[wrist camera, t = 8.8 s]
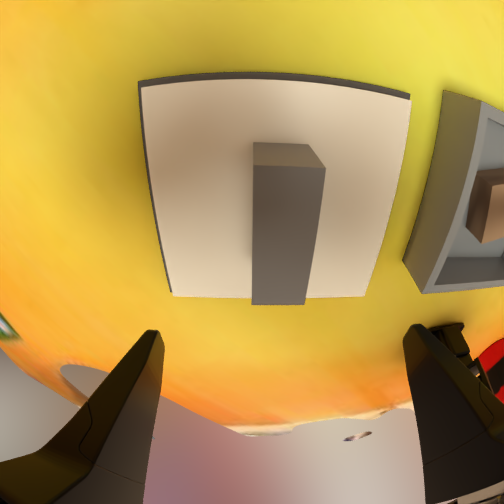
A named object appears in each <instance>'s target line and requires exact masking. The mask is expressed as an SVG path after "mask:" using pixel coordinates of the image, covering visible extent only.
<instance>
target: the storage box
mask: <svg viewBox="0 0 504 504" xmlns="http://www.w3.org/2000/svg"><path fill="white" fill-rule="evenodd" d="M499 168H504V112H502V111H500V110H498V109H496V108H495V107H493V106H491V105H489V104H487V103H485V102H483V101H480V100H477V99H474V98H470V97H467V96H463V95H460V94H456V93H452V92H449V91H444V90H443V98H442V106H441V113H440V120H439V126H438V132H437V138H436V143H435V148H434V153H433V158H432V162H431V167H430V171H429V175H428V179H427V183H426V187H425V191H424V195H423V198H422V202H421V205H420V209H419V212H418V216H417V219H416V222H415V225H414V228H413V231H412V234H411V237H410V240H409V243H408V246H407V249H406V252H405V254H404V257H403V260H402V261H403V263H404V264H405V266H406V268H407V269H408V271H409V273H410V274H411V276H412V278H413V279H414V281H415V283H416V285H417V286H418V288H419V290H420V292H421V294H428V293H440V292H452V291H462V290H472V289H482V288H490V287H499V286H504V237H503V238H500V239H497V240H493V241H490V242H487V243H484V244H481V243H480V242H479V241H478V240H477V239H476V238H475V237H474V236H473V235H472V233H471V232H470V231H469V230H468V229H467V228H466V227H465V226H466V220H467V214H468V208H469V201H470V194H471V190H472V187H473V184H474V180H475V176H476V173H477V171H481V170H490V169H499Z"/></svg>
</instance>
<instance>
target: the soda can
mask: <svg viewBox="0 0 504 504" xmlns="http://www.w3.org/2000/svg"><path fill="white" fill-rule="evenodd" d="M478 359H479V360H480V362H481V364H482V366H483V368H484V370H485V372H486V374H487V377H488V379H489V382H490V385H491V387H492V390H493V393H494V395H495V396H496V397H497V398H498V399H499V400H500V401H501V402H503V403H504V339H501V340H499V341H497V342H495V343H494V344H492V345H491V346H490V347H488V348H487V349H486V350H485V351H484V352H483V353H482V354H481V355H480V356H479V358H478Z"/></svg>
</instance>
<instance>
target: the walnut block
mask: <svg viewBox="0 0 504 504" xmlns="http://www.w3.org/2000/svg"><path fill="white" fill-rule="evenodd" d="M465 227H466V228H467V229H468V230H469V231H470V232H471V233H472V235H473V236H474V237H475V238H476V239H477V240H478V241H479V242H480V243H481V244H484V243H487V242H490V241H493V240H497V239H500V238H503V237H504V168H499V169H490V170H481V171H477V173H476V176H475V180H474V184H473V187H472V190H471V194H470V201H469V208H468V214H467V220H466V226H465Z"/></svg>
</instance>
